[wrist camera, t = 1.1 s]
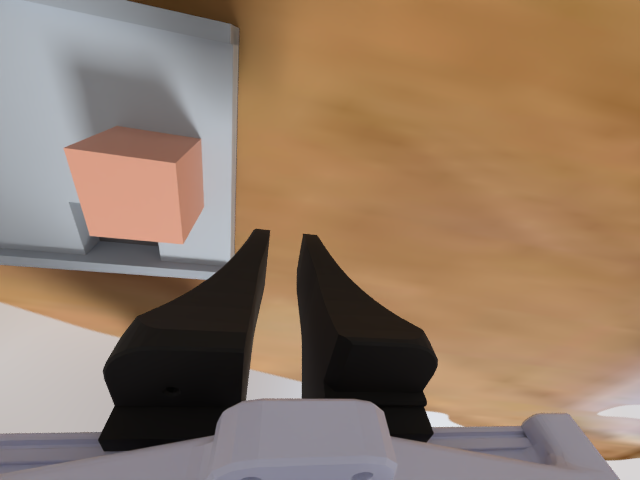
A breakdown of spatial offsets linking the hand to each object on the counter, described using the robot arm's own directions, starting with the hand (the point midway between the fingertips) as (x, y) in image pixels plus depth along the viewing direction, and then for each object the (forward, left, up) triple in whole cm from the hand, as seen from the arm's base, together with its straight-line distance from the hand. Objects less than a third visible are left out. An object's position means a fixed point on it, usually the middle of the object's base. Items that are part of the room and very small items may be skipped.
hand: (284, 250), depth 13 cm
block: (0, +8, -7) cm, 11 cm away
